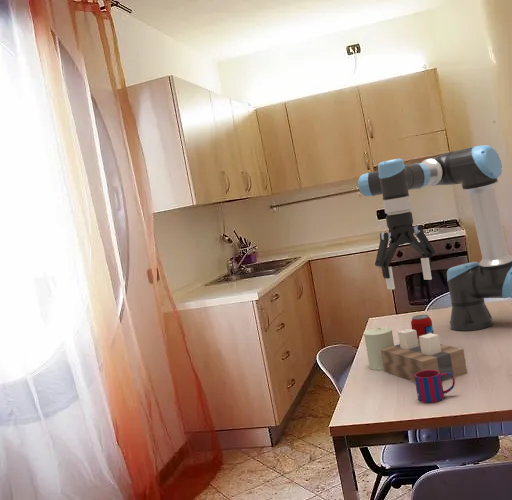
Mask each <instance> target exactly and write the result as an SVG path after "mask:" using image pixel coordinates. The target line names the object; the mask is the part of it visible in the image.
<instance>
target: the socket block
mask: <svg viewBox="0 0 512 500" xmlns="http://www.w3.org/2000/svg"><path fill="white" fill-rule="evenodd" d="M418 345H419V347H415V348H412V349H409V350H407V349H403V348H400V343H399V344H394V346H391V347H388V348H385V349H381V355H382V361H383V367H384V370H383V371H384V373H388V374H390V375H391V374H392V375H393V376H397V377H400V378H403V379H405V380H408V381H411V382H414V383H415V378H414V374H415V373H417V372H419V371H423V370H437V371H439V372H440V374H443V373H451V374H452V375H453V376H454V378H455V377H456V378H457V377H458V376H459V377H460V376H463V375H465V374H467V373H468V370H467V365H466V364H467V363H466V358H465V357H466V356H465V352H464V349H463V348H461V347H460V348H459V347H455V346H450V345H447V344H443V343H440V346H441V352H440V353H437V354H434V355H430V356H429V355H426V354H422V352H421V346H420V340H419V339H418ZM450 379H452V377H451V376H450V375H445V376H443V377H442V379H441V380H442V382H444V381H446V380H450Z"/></svg>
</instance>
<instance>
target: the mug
mask: <svg viewBox="0 0 512 500" xmlns="http://www.w3.org/2000/svg"><path fill="white" fill-rule="evenodd" d="M445 375H450V376H451V377H452V378H451V380H452V385H451V386H450V387H449V388H447V389H446V390H445V389H444V387H443V381H442V380H441V379H442V377H443V376H445ZM414 378H415V382H414V384H415V390H416V395H417V401H419V403H422V404H423V403H424V404H434V403H439V402H441V401H442V399H443V400H444V399H445V394H447V393H449V392H451V391H452V390H453V389H454V387H455V386H456V385H455V384H456V379H455V377H454V376H453V375H452V374H451V373H443V374H440V372H439V371H437V370H423V371H419V372H417V373H415V374H414ZM438 401H439V402H438Z"/></svg>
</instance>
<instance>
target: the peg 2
mask: <svg viewBox="0 0 512 500" xmlns="http://www.w3.org/2000/svg"><path fill="white" fill-rule="evenodd" d="M419 340H420V346H421V352H422V354H426V355H429V356H430V355H434V354H437V353H440V352H441V346H440V344H441V341H440V340H441V339H440V335H439V334H436V333H434V334H432V333H429V334H426V335H422V336H419Z"/></svg>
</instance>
